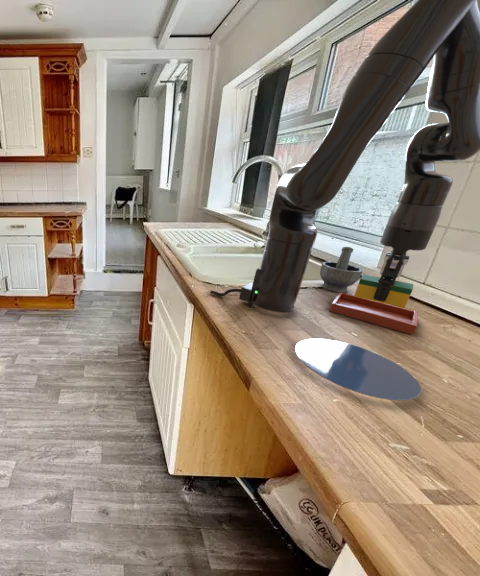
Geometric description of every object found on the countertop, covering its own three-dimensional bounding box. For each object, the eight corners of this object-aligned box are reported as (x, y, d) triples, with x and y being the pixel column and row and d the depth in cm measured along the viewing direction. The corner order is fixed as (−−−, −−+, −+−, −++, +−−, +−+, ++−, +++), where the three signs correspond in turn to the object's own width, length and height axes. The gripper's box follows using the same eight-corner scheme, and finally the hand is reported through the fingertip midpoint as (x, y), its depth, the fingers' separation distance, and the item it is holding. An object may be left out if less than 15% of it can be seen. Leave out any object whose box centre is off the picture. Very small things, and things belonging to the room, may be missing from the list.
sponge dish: (329, 310, 76) (331, 303, 75) (337, 299, 83) (340, 292, 83) (413, 334, 66) (417, 326, 65) (413, 319, 74) (417, 311, 73)
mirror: (280, 367, 53) (282, 361, 52) (305, 334, 64) (307, 329, 64) (417, 425, 42) (421, 418, 41) (418, 373, 53) (421, 367, 53)
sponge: (353, 296, 74) (360, 278, 72) (357, 290, 78) (363, 274, 76) (404, 308, 68) (412, 289, 67) (405, 301, 72) (413, 284, 70)
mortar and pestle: (353, 297, 85) (369, 256, 81) (313, 288, 91) (326, 249, 86) (353, 287, 93) (368, 248, 89) (317, 279, 99) (329, 242, 94)
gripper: (389, 220, 74) (364, 285, 80) (384, 226, 64) (355, 299, 70) (434, 225, 69) (403, 294, 75) (435, 232, 59) (399, 310, 66)
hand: (380, 296), depth 73 cm, fingers closed on sponge, 5 cm apart
